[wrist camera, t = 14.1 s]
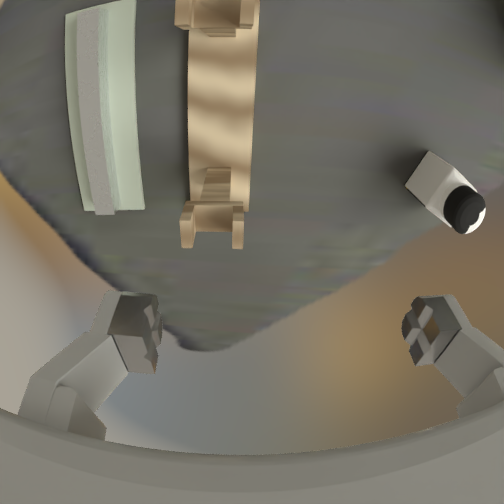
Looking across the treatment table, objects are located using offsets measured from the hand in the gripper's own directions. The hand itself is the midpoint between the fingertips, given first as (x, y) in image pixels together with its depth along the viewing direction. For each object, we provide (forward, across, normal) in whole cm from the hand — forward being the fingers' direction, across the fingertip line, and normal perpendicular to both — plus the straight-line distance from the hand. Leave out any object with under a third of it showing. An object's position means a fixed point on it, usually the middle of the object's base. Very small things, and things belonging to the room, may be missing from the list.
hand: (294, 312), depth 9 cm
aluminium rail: (+32, +20, 0) cm, 38 cm away
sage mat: (+33, +20, 0) cm, 38 cm away
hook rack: (+33, +4, -1) cm, 33 cm away
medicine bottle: (+33, -28, +7) cm, 44 cm away
